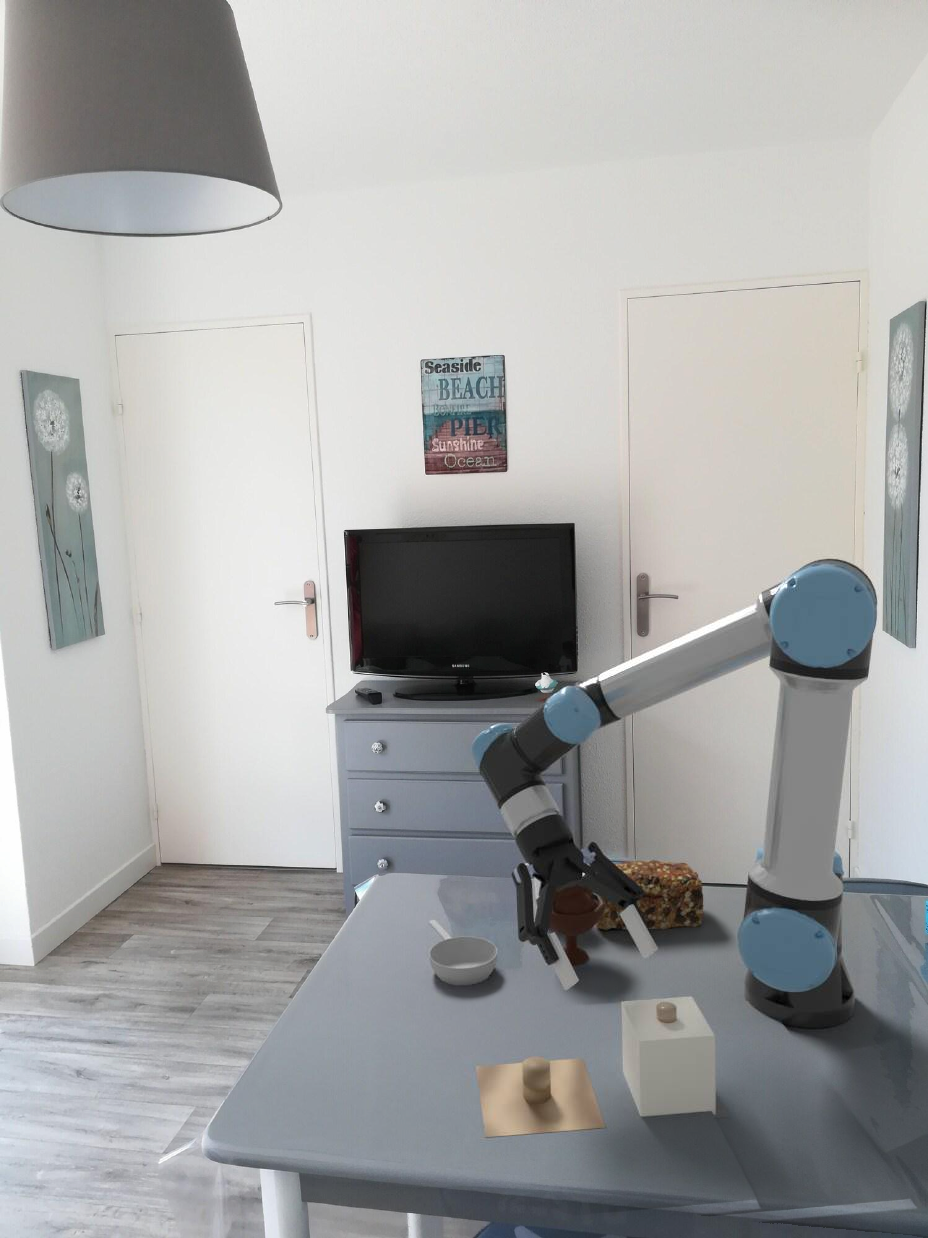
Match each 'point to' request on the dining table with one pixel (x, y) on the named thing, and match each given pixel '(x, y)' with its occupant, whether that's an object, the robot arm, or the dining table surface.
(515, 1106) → the board
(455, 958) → the saucepan
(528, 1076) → the cork
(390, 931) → the dining table surface
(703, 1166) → the dining table surface
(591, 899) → the ice cream bowl
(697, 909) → the bread
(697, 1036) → the knobbed white box
